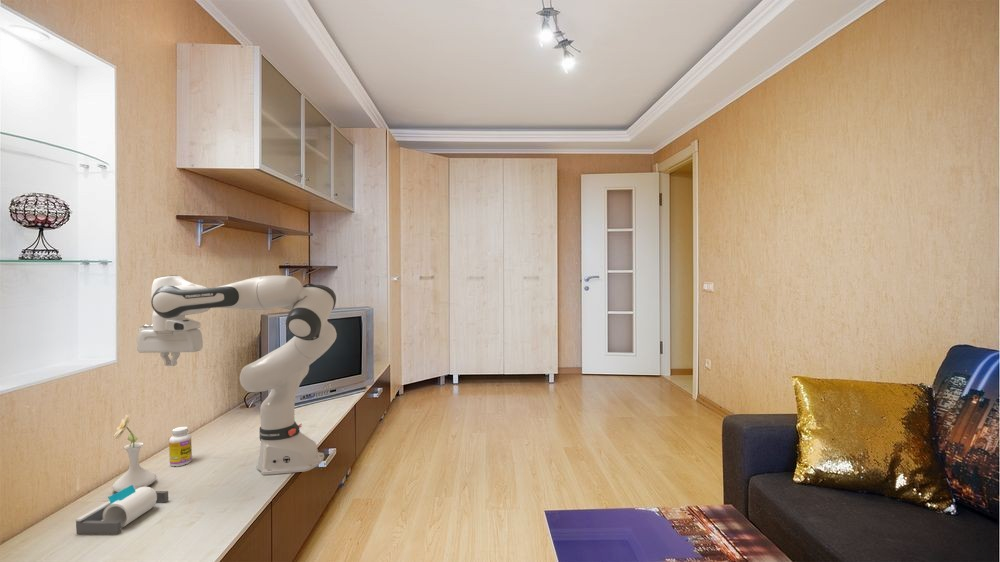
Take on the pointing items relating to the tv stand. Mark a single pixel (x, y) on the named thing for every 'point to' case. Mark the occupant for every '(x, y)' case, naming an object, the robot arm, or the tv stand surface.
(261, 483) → the tv stand surface
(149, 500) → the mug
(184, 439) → the supplement bottle
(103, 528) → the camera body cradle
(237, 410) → the tv stand surface
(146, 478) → the flower in vase
